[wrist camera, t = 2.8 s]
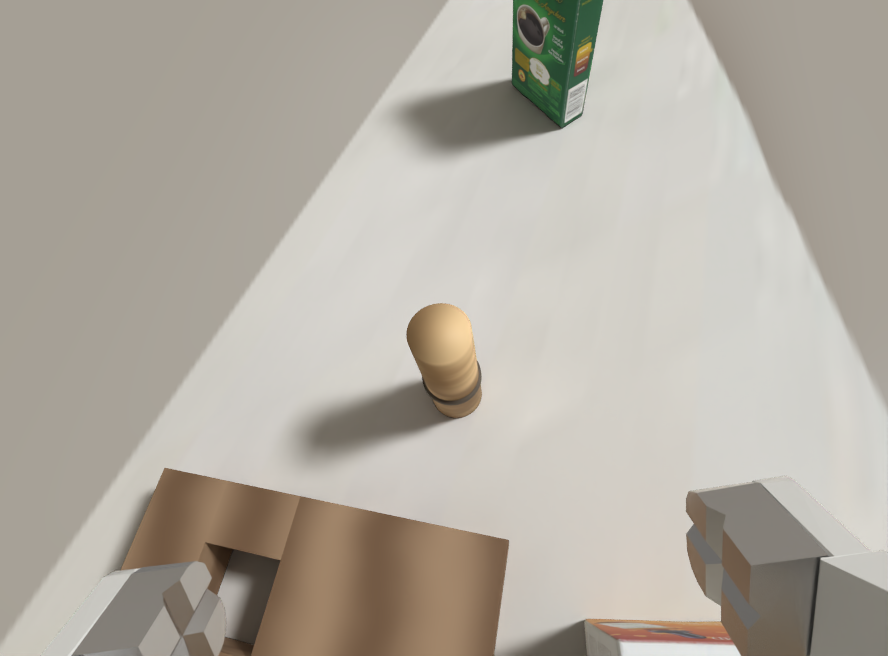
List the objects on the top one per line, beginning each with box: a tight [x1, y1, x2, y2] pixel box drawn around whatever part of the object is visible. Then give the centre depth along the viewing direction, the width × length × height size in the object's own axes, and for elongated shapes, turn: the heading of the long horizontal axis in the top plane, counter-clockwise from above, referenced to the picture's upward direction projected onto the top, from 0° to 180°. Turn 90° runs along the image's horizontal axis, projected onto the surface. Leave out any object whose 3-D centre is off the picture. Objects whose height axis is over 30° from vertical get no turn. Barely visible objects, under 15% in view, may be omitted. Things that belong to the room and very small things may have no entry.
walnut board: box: [121, 468, 509, 656], centre depth 29 cm, size 22×12×4 cm, turn 78°
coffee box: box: [512, 0, 603, 128], centre depth 41 cm, size 8×3×13 cm, turn 32°
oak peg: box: [407, 303, 482, 418], centre depth 31 cm, size 4×4×10 cm
